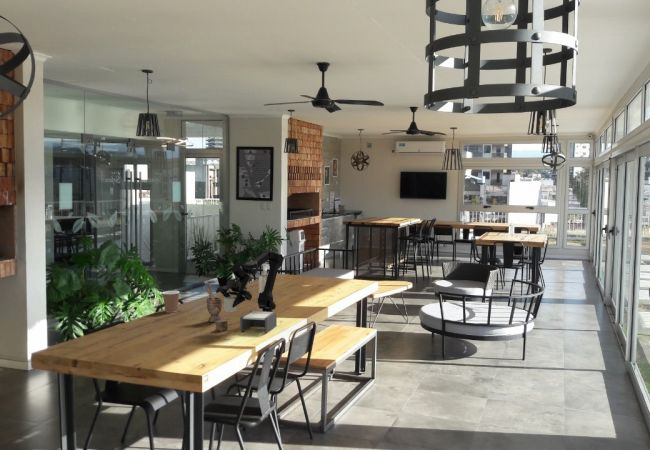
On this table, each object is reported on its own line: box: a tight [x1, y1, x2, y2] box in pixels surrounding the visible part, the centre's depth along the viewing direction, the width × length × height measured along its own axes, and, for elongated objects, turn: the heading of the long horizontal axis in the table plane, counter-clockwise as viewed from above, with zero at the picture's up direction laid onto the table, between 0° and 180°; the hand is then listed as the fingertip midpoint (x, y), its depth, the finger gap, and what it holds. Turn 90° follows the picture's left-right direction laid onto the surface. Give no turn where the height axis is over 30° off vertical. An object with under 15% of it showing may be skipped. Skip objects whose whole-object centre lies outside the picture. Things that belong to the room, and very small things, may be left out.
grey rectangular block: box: [223, 296, 238, 313], centre depth 335 cm, size 5×5×7 cm
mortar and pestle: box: [205, 285, 223, 323], centre depth 360 cm, size 12×9×20 cm
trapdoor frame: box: [239, 310, 278, 334], centre depth 340 cm, size 16×15×8 cm
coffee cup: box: [162, 290, 180, 313], centre depth 387 cm, size 10×10×12 cm
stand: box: [215, 319, 228, 332], centre depth 338 cm, size 4×4×5 cm
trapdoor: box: [243, 310, 274, 320], centre depth 340 cm, size 16×12×3 cm
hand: (229, 306), depth 334 cm, fingers closed on grey rectangular block, 5 cm apart
